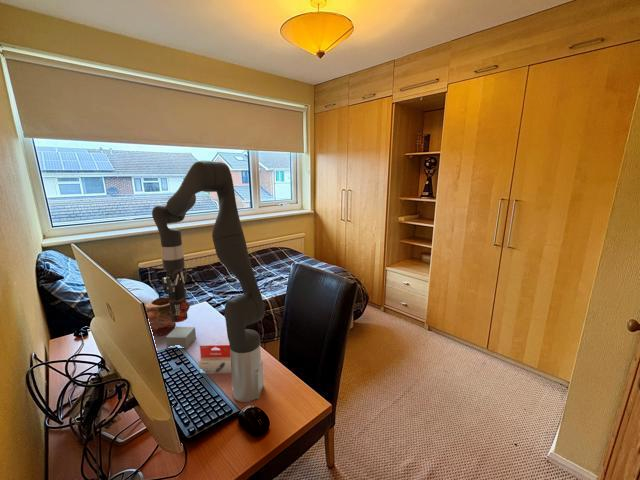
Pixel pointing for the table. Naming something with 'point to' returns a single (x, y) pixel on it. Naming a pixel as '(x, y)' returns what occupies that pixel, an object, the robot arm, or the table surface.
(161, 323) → the decorated ceramic mug
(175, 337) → the grey block
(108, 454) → the table surface
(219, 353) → the ink cartridge box
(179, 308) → the deodorant
